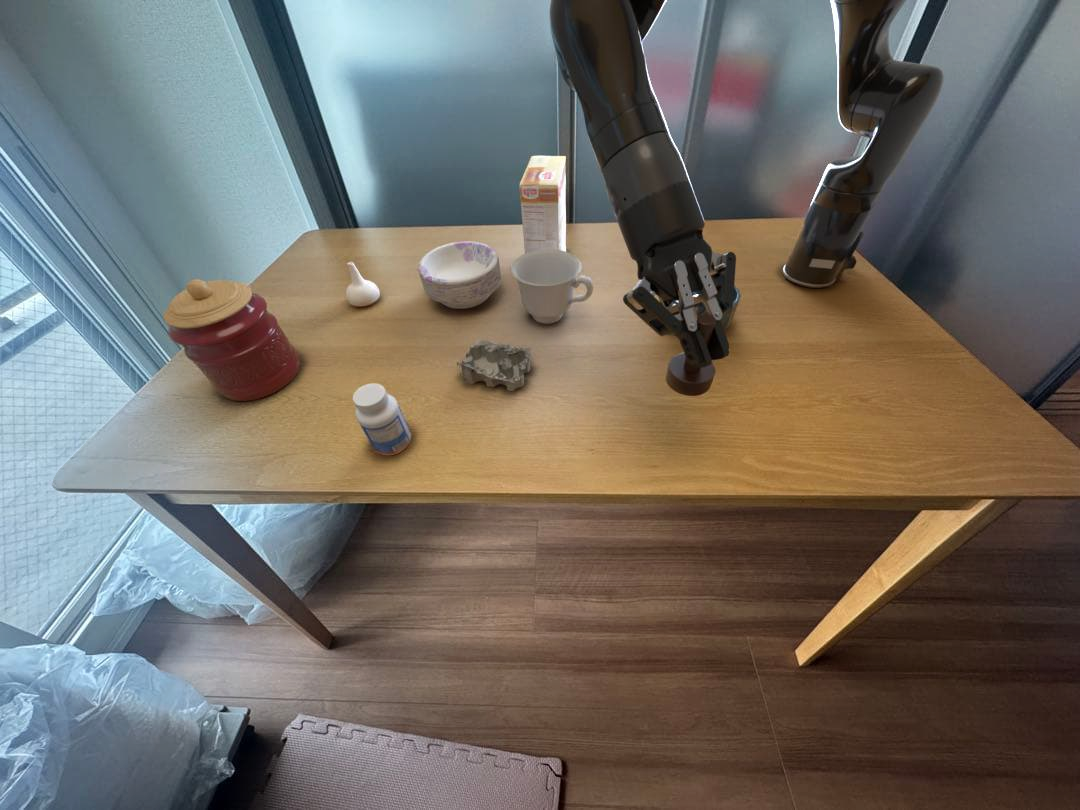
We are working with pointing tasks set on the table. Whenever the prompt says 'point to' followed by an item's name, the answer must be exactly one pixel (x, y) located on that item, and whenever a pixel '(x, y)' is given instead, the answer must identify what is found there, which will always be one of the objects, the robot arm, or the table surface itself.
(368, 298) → the garlic bulb
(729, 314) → the bowl
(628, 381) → the table surface
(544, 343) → the table surface
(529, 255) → the teacup
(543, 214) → the coffeecake box
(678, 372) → the coffee tamper
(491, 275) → the paper bowls
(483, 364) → the egg carton
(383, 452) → the pill bottle
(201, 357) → the kitchen canister
